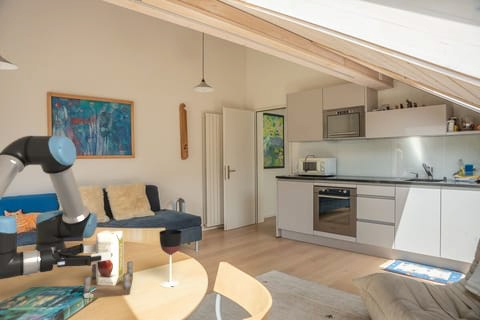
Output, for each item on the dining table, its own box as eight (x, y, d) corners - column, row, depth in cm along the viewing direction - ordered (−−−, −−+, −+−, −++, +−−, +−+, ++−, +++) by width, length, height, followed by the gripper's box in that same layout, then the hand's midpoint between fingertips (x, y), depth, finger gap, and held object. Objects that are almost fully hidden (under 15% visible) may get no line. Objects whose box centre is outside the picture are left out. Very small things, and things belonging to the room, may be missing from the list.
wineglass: (171, 289, 120) (171, 235, 120) (154, 284, 124) (154, 232, 124) (185, 282, 127) (186, 231, 127) (169, 278, 131) (169, 228, 131)
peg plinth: (92, 282, 127) (92, 264, 127) (132, 278, 131) (132, 261, 131) (83, 299, 111) (83, 278, 111) (129, 294, 115) (129, 275, 115)
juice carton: (104, 278, 125) (104, 229, 125) (125, 279, 124) (125, 229, 124) (93, 286, 118) (93, 233, 118) (116, 287, 117) (116, 234, 117)
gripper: (36, 262, 118) (98, 253, 130) (41, 284, 98) (114, 270, 110) (36, 242, 118) (98, 234, 130) (41, 259, 98) (114, 248, 110)
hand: (106, 250), depth 120 cm, fingers open, 13 cm apart
